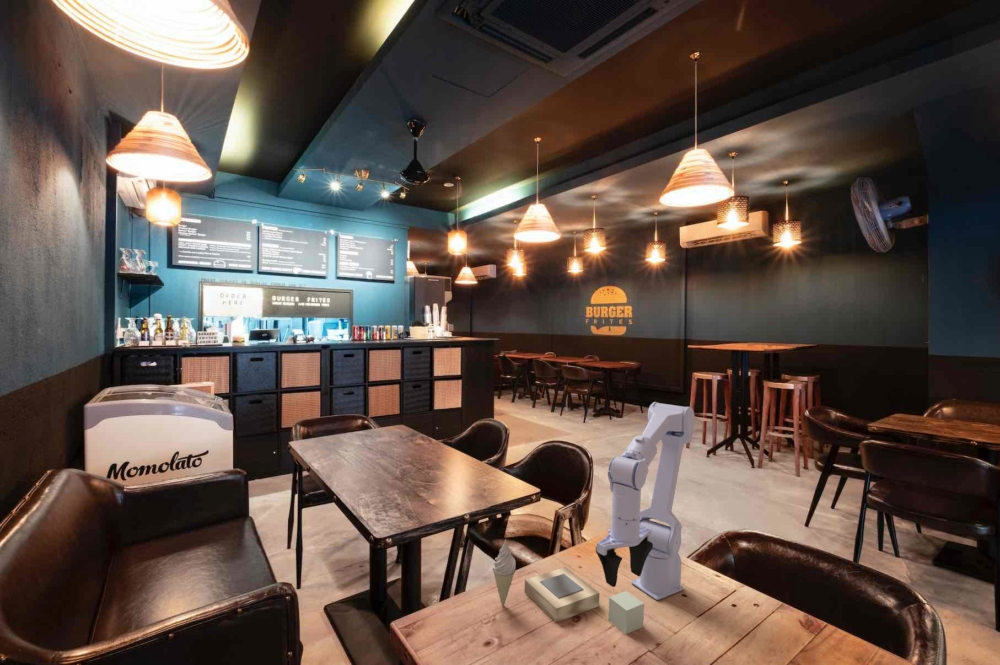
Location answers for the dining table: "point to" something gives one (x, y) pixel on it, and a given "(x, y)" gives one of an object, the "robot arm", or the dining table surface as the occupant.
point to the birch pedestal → (561, 594)
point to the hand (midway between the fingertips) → (623, 579)
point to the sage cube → (626, 612)
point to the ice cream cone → (504, 571)
